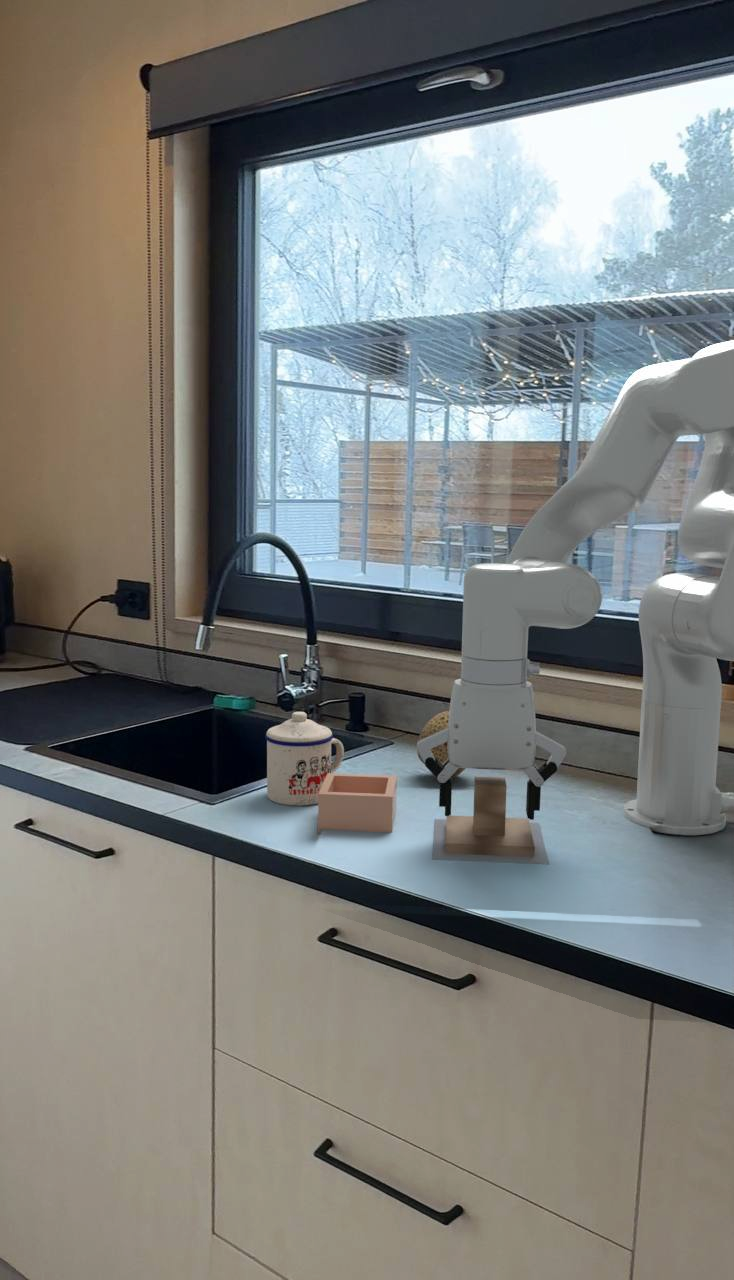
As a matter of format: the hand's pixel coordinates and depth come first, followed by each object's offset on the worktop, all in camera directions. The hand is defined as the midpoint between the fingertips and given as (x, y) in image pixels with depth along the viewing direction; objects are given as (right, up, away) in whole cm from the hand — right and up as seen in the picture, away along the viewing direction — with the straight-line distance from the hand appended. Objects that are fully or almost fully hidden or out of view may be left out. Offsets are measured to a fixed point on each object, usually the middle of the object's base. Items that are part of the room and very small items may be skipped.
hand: (488, 814), depth 120 cm
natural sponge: (-3, 0, +28) cm, 28 cm away
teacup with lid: (-22, -1, +19) cm, 30 cm away
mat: (0, -4, +1) cm, 4 cm away
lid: (0, -3, +1) cm, 3 cm away
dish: (-15, -2, +8) cm, 17 cm away
